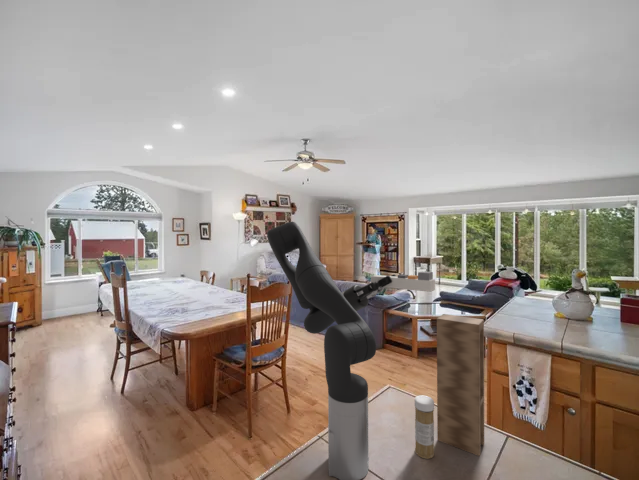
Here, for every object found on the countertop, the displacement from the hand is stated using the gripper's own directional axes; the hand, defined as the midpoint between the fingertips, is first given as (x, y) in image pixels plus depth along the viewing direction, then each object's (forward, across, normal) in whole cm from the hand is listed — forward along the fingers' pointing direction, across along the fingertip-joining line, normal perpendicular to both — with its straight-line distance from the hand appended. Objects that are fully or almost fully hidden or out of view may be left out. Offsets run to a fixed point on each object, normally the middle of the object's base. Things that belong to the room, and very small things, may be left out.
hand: (393, 277), depth 92 cm
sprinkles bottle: (-10, -10, +42) cm, 45 cm away
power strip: (+1, 0, +4) cm, 4 cm away
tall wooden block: (-5, 0, +45) cm, 45 cm away
